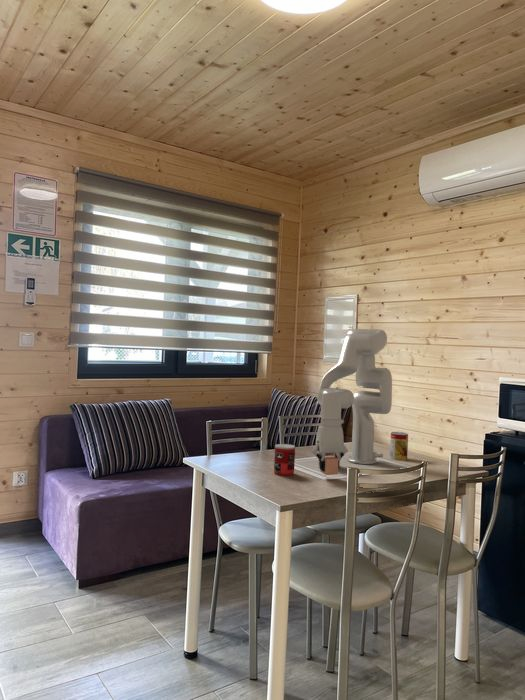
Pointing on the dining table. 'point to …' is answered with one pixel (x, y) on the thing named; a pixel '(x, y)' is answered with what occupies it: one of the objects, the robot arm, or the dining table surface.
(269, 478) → the dining table surface
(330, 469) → the block
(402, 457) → the canned food
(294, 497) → the dining table surface
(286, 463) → the canned food
